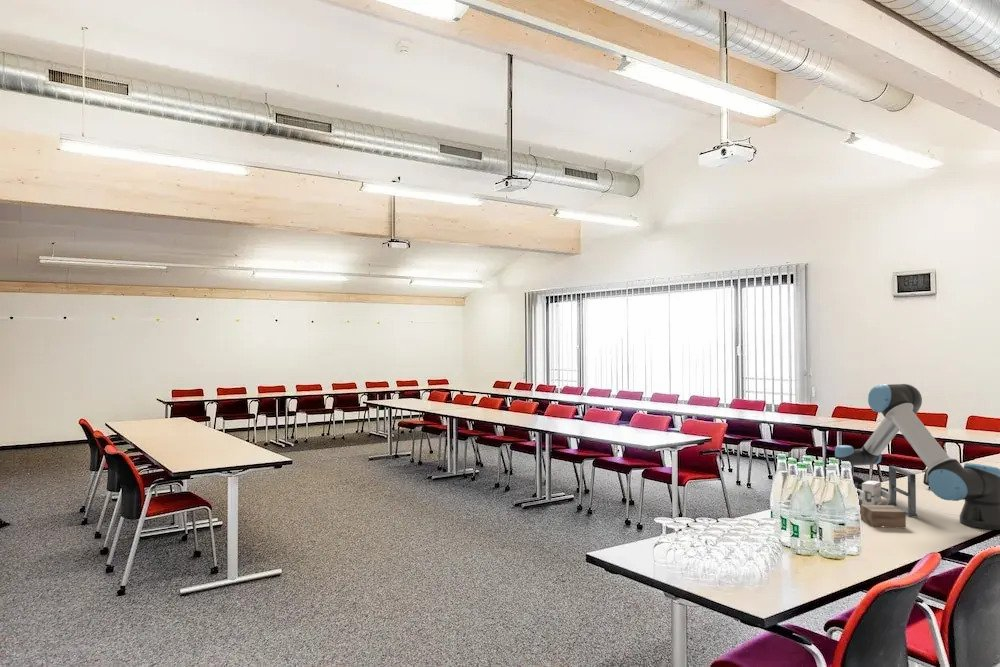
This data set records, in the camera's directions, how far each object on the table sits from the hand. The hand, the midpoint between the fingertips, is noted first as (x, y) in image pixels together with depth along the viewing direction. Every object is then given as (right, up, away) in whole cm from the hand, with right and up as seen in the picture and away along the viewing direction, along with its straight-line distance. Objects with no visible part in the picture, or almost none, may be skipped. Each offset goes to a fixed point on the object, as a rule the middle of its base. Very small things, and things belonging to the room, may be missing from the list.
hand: (876, 495), depth 264 cm
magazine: (+62, -8, +52) cm, 81 cm away
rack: (+12, -7, +3) cm, 15 cm away
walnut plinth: (-7, -7, -16) cm, 19 cm away
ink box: (+1, -7, +4) cm, 9 cm away
